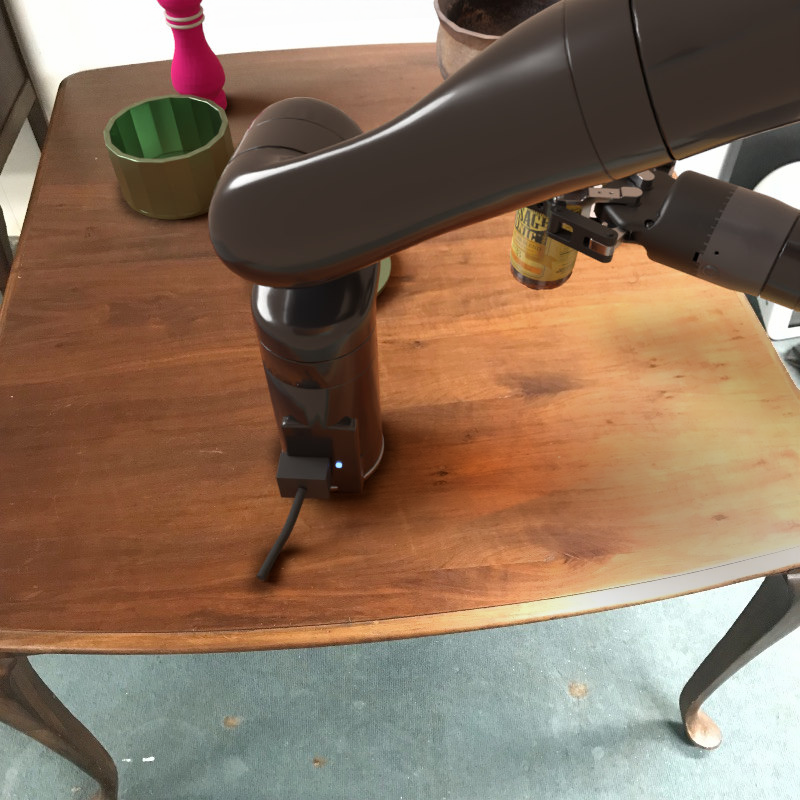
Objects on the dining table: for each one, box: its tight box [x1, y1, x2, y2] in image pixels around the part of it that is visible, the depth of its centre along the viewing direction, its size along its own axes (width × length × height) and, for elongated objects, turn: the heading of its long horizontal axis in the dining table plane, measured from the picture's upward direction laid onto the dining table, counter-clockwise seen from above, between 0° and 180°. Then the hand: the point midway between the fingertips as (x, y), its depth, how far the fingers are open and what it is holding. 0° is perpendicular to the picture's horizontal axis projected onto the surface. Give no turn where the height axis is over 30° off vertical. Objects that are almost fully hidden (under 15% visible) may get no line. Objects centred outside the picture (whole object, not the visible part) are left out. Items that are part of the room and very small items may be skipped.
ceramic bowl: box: [433, 0, 561, 81], centre depth 103 cm, size 22×22×15 cm
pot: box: [103, 93, 235, 221], centre depth 95 cm, size 14×14×8 cm
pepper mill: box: [156, 0, 228, 111], centre depth 102 cm, size 7×7×20 cm
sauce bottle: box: [509, 187, 594, 291], centre depth 67 cm, size 7×6×20 cm
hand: (532, 167), depth 67 cm, fingers closed on sauce bottle, 6 cm apart
